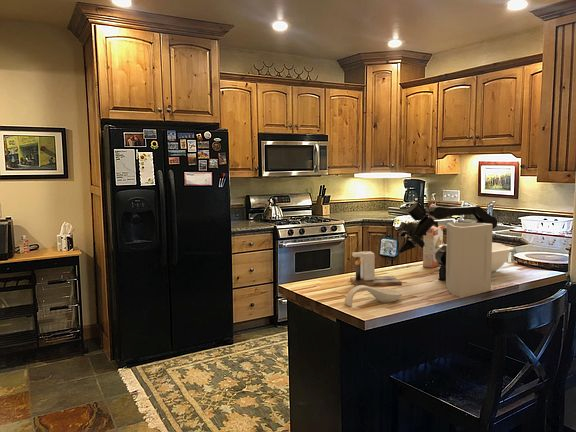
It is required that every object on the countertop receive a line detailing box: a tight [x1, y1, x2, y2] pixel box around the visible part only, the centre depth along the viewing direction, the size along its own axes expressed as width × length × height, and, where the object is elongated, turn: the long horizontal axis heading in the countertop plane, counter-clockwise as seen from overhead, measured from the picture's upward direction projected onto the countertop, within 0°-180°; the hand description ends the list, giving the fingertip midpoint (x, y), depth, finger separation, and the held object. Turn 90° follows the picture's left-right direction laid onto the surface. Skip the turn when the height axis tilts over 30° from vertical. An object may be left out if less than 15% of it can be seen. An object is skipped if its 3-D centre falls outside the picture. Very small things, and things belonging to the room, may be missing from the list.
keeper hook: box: [354, 259, 361, 280], centre depth 210 cm, size 3×3×9 cm
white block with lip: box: [351, 250, 376, 280], centre depth 210 cm, size 9×6×12 cm, turn 96°
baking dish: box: [438, 242, 514, 273], centre depth 233 cm, size 34×28×13 cm
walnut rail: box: [349, 275, 403, 287], centre depth 212 cm, size 20×12×2 cm, turn 96°
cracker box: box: [422, 225, 444, 269], centre depth 247 cm, size 14×6×21 cm, turn 143°
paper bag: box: [445, 222, 493, 298], centre depth 195 cm, size 19×15×28 cm
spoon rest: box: [344, 285, 403, 307], centre depth 180 cm, size 24×12×7 cm, turn 113°
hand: (398, 252), depth 211 cm, fingers closed
